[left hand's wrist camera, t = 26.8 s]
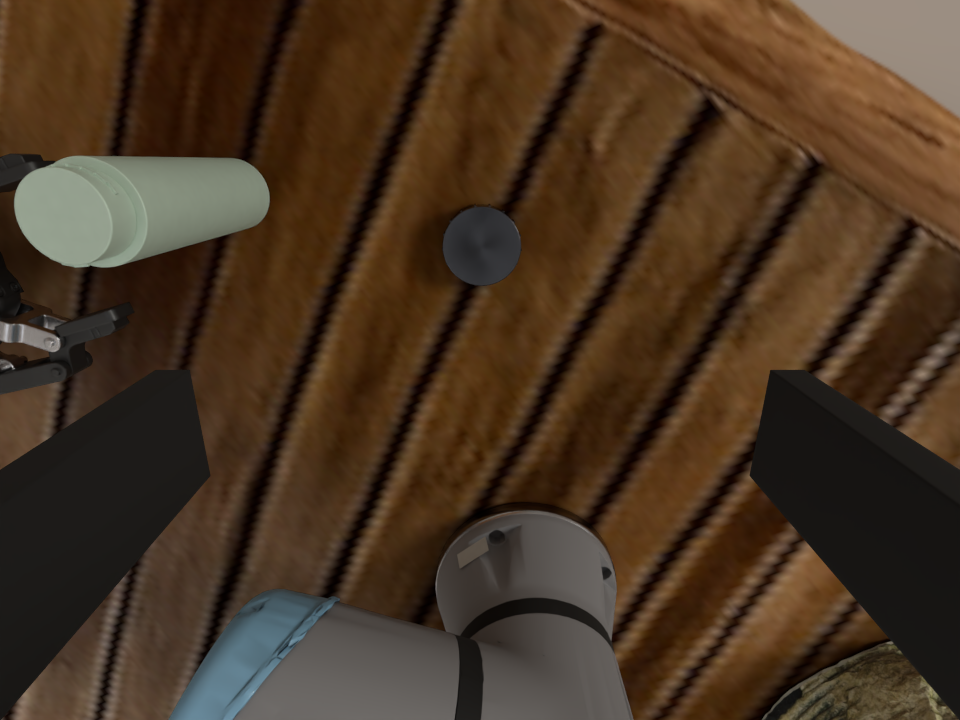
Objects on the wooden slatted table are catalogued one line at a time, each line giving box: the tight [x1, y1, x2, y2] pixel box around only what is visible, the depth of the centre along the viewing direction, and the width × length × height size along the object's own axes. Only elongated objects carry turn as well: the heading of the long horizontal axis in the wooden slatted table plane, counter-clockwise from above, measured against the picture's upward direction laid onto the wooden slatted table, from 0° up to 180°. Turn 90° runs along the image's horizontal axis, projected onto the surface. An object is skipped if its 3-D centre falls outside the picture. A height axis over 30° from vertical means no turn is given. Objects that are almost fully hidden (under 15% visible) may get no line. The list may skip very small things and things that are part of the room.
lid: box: [442, 204, 521, 286], centre depth 37 cm, size 5×5×2 cm
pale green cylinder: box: [14, 156, 270, 268], centre depth 29 cm, size 5×5×16 cm
